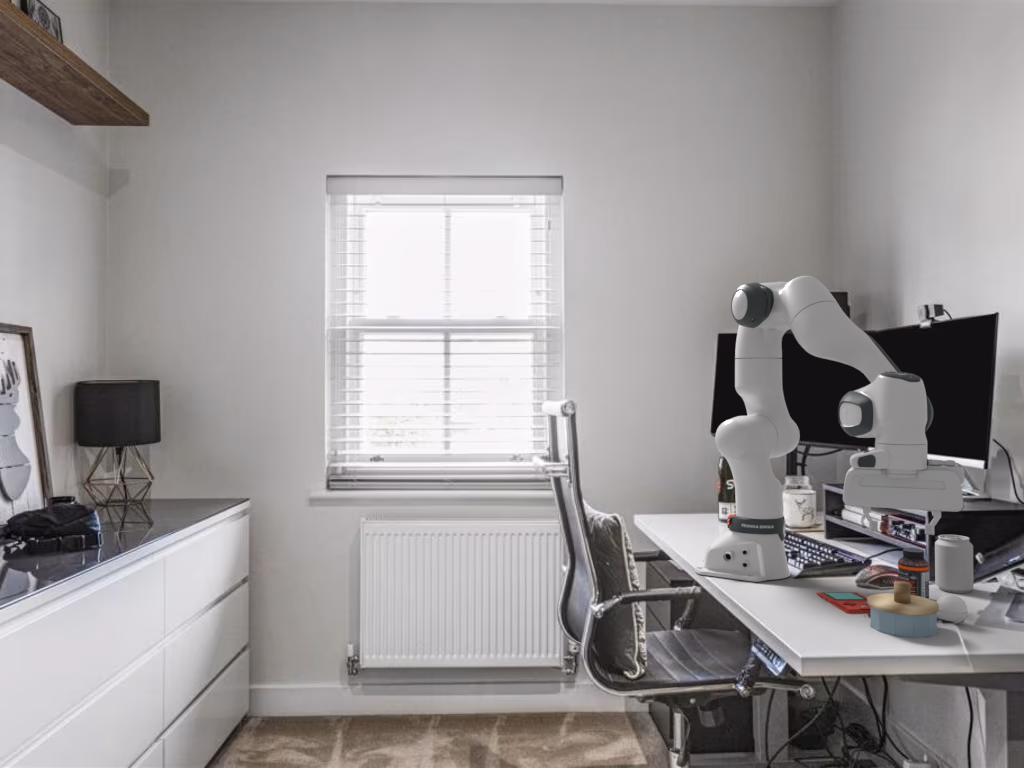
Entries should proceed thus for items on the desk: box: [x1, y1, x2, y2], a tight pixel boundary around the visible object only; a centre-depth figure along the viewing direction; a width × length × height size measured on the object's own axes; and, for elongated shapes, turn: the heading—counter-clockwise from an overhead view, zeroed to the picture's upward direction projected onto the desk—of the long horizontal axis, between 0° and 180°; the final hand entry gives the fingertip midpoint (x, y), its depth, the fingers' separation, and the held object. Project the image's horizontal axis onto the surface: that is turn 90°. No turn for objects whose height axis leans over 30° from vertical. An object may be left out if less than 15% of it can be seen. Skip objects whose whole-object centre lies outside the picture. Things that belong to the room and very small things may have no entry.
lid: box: [867, 580, 939, 615], centre depth 149 cm, size 12×12×4 cm
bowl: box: [870, 606, 938, 639], centre depth 149 cm, size 11×11×5 cm
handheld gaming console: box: [815, 591, 871, 614], centre depth 166 cm, size 9×1×15 cm
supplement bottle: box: [897, 547, 930, 599], centre depth 168 cm, size 6×6×11 cm
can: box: [934, 534, 975, 594], centre depth 179 cm, size 8×8×12 cm
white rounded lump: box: [935, 593, 969, 625], centre depth 153 cm, size 8×6×6 cm
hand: (901, 532), depth 149 cm, fingers open, 8 cm apart
